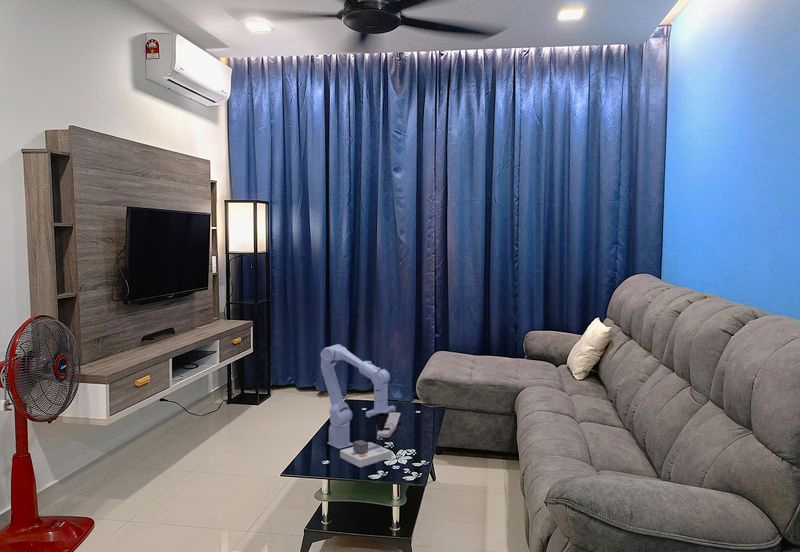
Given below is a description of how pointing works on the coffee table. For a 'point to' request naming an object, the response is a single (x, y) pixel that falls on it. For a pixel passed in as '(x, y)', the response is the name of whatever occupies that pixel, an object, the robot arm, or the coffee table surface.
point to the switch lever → (360, 446)
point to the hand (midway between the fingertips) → (380, 430)
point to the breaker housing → (365, 455)
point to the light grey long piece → (389, 425)
